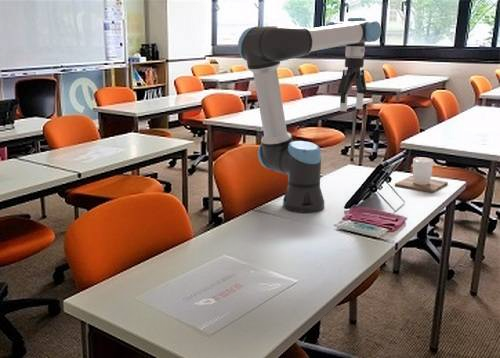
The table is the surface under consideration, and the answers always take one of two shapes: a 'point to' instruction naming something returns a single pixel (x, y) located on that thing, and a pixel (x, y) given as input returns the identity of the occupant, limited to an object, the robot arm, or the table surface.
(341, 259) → the table surface
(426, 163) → the white cup
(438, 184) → the walnut board
